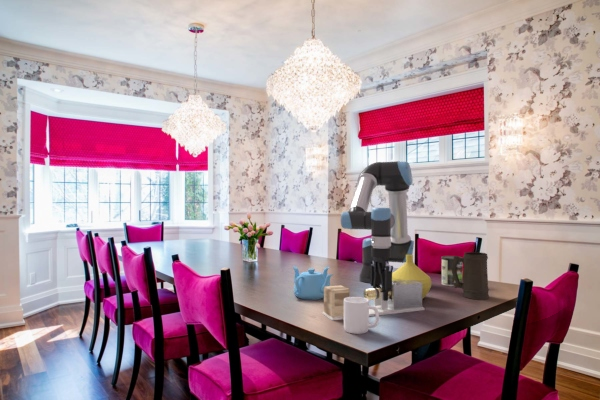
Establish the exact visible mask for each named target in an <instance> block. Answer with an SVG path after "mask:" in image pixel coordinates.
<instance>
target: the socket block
mask: <svg viewBox="0 0 600 400" xmlns="http://www.w3.org/2000/svg"><path fill="white" fill-rule="evenodd" d="M347 297H350V288H348V287H346V286H343V285H341V284H339V285H330V286H326V287H324V298H323V311H324V313H326V314H327V315H329V316H330V317H340V316H344V298H347Z"/></svg>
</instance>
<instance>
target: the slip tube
mask: <svg viewBox="0 0 600 400" xmlns="http://www.w3.org/2000/svg"><path fill="white" fill-rule="evenodd" d="M380 291H382V287H381V288H373V287H372V288H365V289H364V290H363V298H367V299H368V300H369V301H370V300H374V299H381V292H380ZM391 297H392V291H389V292H388V298H391Z"/></svg>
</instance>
